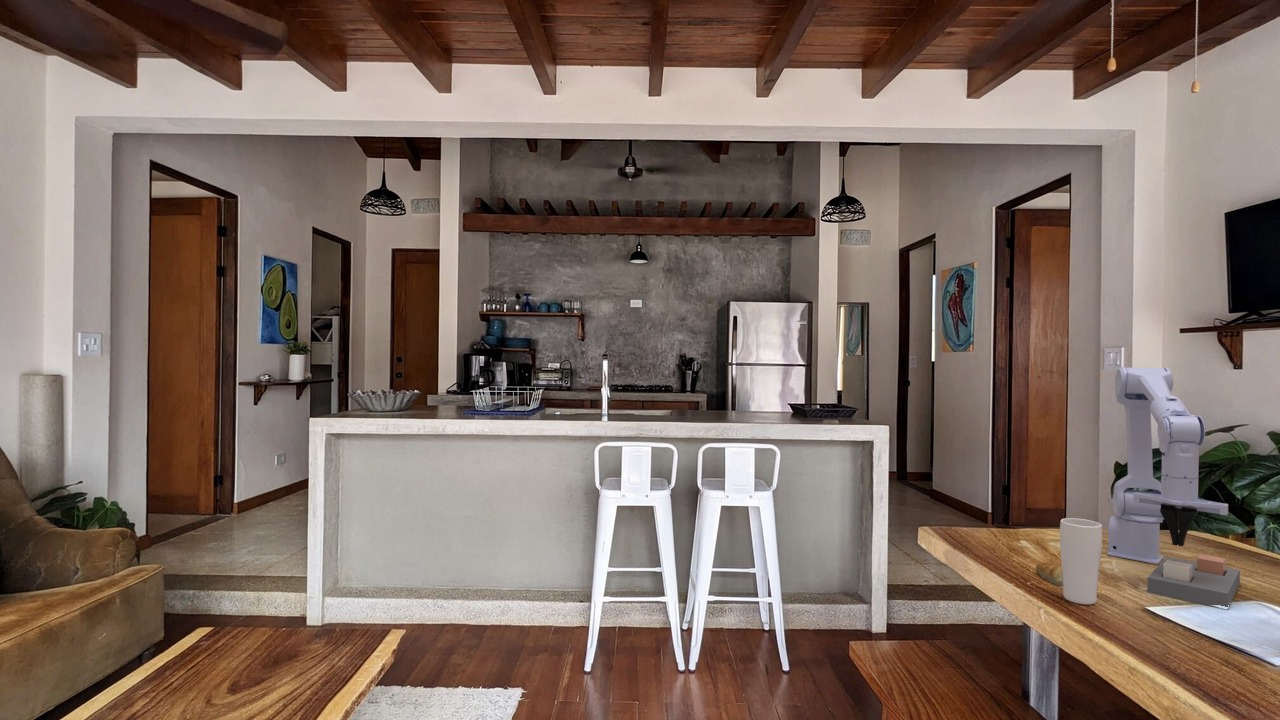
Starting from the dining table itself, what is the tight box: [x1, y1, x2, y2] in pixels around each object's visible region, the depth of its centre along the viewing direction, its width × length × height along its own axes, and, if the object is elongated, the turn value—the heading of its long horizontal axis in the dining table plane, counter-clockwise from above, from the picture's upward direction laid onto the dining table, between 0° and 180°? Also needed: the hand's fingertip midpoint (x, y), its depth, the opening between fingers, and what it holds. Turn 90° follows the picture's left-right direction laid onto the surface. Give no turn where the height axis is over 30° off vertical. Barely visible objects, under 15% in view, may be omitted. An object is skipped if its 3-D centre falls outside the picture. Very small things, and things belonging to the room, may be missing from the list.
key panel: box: [1146, 556, 1241, 607], centre depth 136 cm, size 12×20×3 cm, turn 134°
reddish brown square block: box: [1196, 553, 1226, 576], centre depth 138 cm, size 4×4×3 cm
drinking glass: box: [1059, 517, 1103, 605], centre depth 129 cm, size 7×7×15 cm
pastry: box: [1035, 561, 1063, 587], centre depth 141 cm, size 9×7×4 cm
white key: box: [1163, 560, 1193, 582], centre depth 134 cm, size 4×4×3 cm
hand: (1178, 544), depth 134 cm, fingers closed
